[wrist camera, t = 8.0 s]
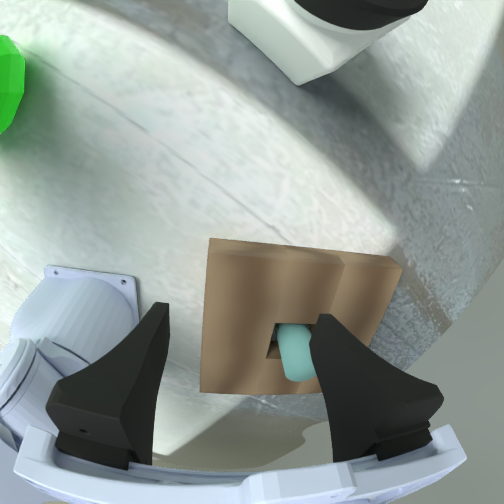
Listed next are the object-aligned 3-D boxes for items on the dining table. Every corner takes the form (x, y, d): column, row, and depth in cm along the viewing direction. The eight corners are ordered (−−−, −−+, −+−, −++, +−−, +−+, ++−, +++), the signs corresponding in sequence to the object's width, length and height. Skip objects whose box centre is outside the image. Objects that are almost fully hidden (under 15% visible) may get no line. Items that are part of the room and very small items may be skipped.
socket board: (200, 374, 29) (199, 392, 26) (209, 237, 22) (208, 252, 19) (337, 374, 31) (343, 390, 29) (389, 256, 24) (402, 269, 22)
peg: (272, 334, 27) (282, 382, 21) (275, 310, 25) (287, 358, 20) (302, 333, 27) (317, 379, 22) (307, 309, 26) (325, 355, 20)
